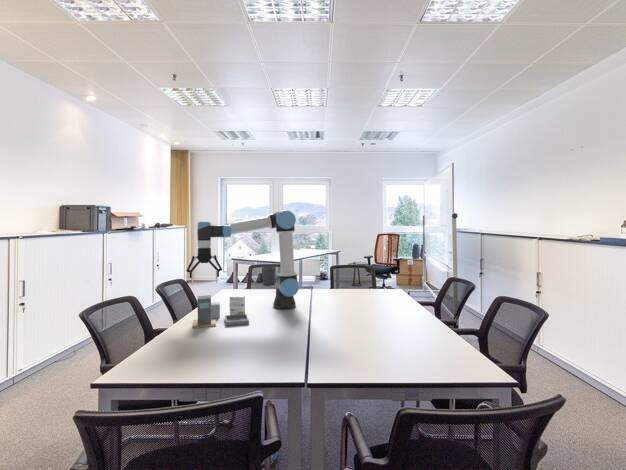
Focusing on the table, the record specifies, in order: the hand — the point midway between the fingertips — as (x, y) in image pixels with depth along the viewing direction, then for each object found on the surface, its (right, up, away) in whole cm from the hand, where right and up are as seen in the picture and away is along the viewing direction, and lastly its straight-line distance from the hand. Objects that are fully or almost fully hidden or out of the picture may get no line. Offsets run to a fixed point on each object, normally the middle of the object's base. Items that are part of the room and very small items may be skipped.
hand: (204, 283), depth 203 cm
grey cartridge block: (+6, -21, +2) cm, 22 cm away
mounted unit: (+4, -21, -13) cm, 25 cm away
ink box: (+18, -21, +6) cm, 28 cm away
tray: (+21, -21, -9) cm, 31 cm away
